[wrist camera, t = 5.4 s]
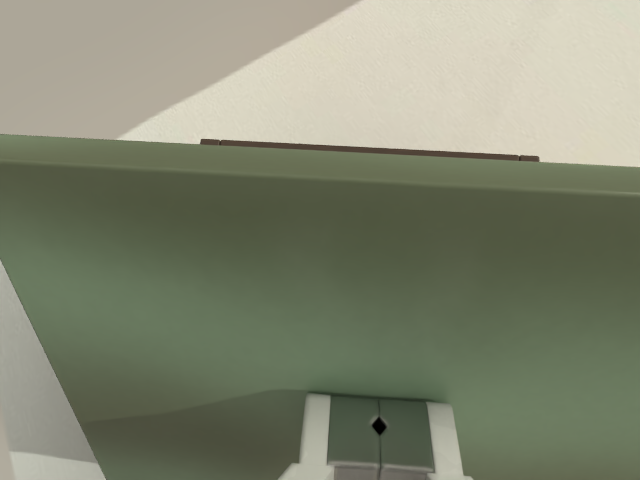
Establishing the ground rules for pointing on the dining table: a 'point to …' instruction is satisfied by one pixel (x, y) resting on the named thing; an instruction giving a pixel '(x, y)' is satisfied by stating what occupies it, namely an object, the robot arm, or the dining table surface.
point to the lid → (327, 300)
